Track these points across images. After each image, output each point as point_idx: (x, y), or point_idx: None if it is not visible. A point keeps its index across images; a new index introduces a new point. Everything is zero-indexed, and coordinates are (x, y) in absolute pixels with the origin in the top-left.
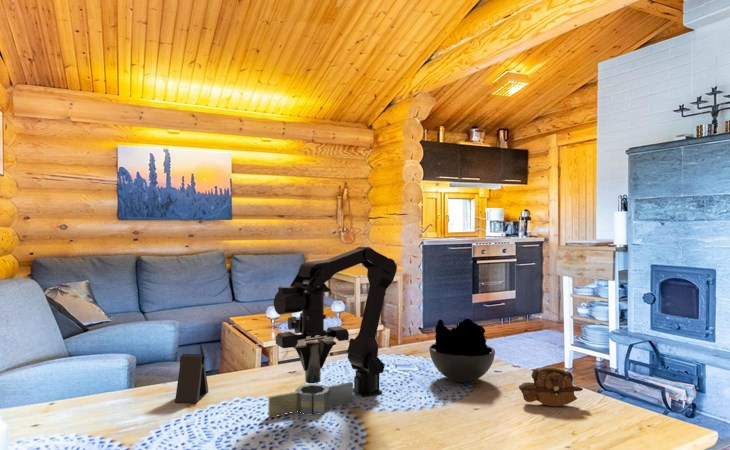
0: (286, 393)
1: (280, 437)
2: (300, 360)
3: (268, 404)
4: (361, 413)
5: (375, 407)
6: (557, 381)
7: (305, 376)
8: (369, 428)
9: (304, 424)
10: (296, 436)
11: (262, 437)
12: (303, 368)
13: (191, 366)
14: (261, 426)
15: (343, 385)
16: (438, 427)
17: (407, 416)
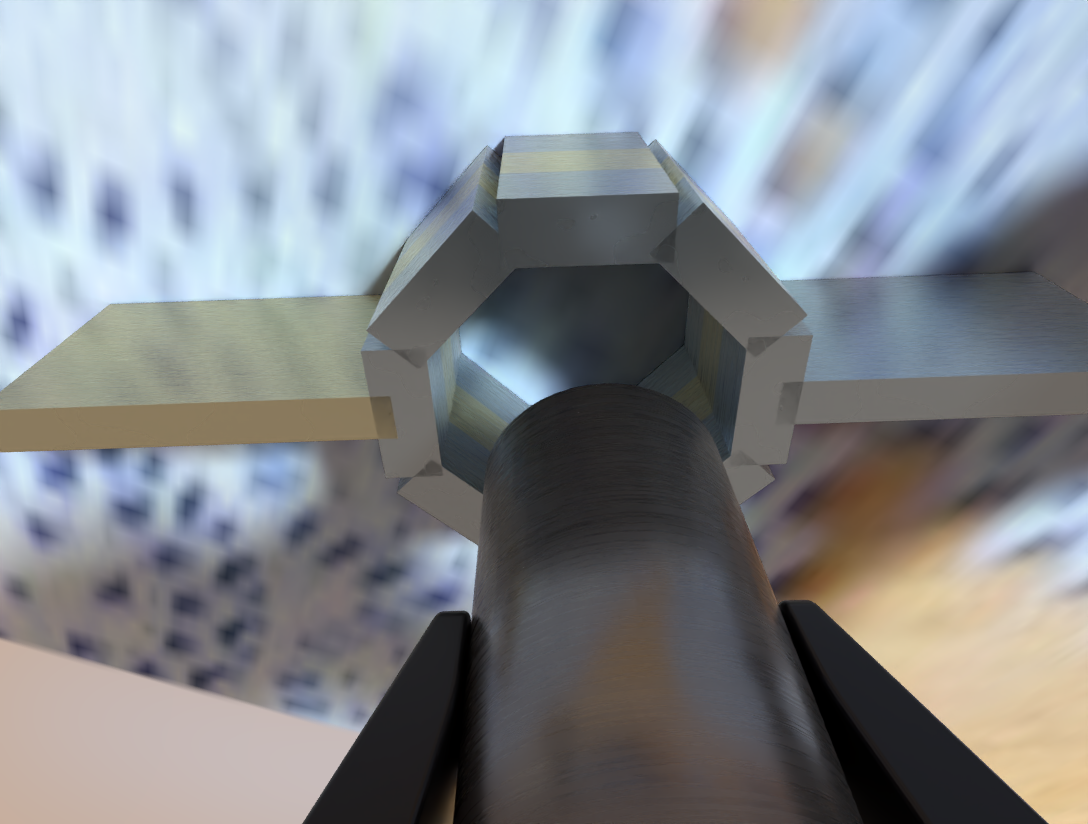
0: (223, 406)
1: (205, 640)
2: (325, 789)
3: (39, 363)
4: (865, 547)
5: (1043, 500)
6: None
7: (480, 528)
8: None
9: (398, 549)
10: (306, 659)
11: (84, 606)
12: (425, 645)
13: None
14: (60, 465)
15: (1021, 410)
16: (1038, 798)
17: (1057, 676)
